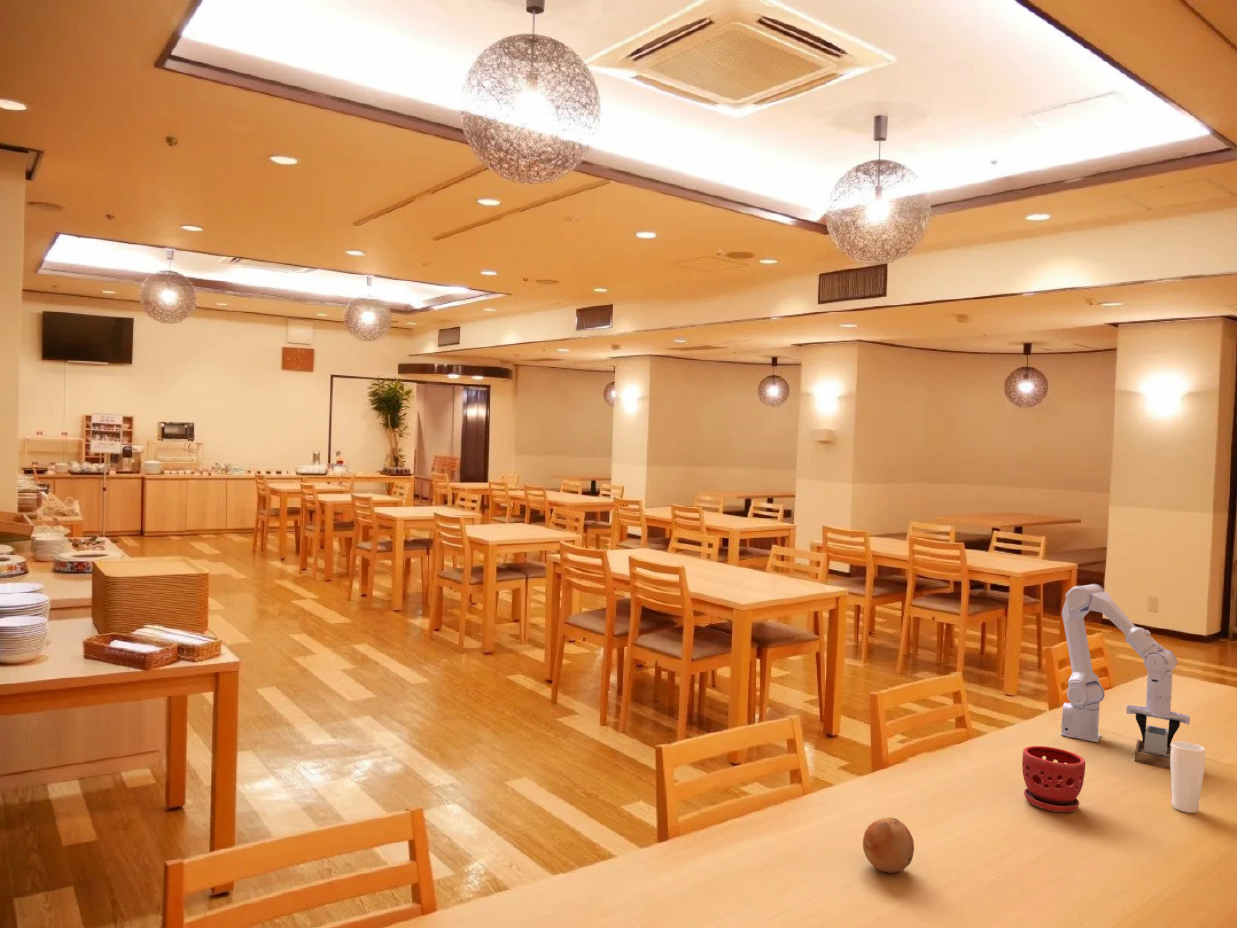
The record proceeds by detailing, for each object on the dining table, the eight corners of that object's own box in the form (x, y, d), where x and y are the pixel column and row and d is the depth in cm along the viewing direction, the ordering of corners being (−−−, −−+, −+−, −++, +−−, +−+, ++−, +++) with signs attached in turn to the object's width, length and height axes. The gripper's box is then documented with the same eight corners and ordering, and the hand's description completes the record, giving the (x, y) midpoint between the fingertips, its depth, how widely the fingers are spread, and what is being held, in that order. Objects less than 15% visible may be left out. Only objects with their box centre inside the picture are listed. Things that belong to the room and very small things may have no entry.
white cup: (1191, 803, 204) (1195, 741, 203) (1208, 816, 197) (1212, 752, 197) (1161, 801, 205) (1165, 739, 204) (1177, 814, 198) (1180, 750, 197)
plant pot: (1091, 819, 194) (1093, 767, 193) (1028, 812, 196) (1031, 760, 196) (1072, 796, 206) (1075, 746, 206) (1014, 789, 209) (1016, 741, 209)
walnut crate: (1134, 761, 231) (1134, 751, 231) (1137, 748, 241) (1137, 739, 241) (1175, 769, 226) (1175, 760, 226) (1176, 755, 236) (1176, 746, 236)
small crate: (1143, 752, 231) (1145, 732, 231) (1146, 744, 238) (1147, 724, 238) (1165, 757, 228) (1167, 736, 228) (1167, 748, 235) (1168, 728, 235)
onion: (872, 851, 175) (874, 803, 175) (921, 868, 169) (923, 818, 168) (852, 869, 167) (854, 819, 167) (902, 887, 161) (905, 835, 161)
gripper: (1126, 693, 233) (1124, 742, 234) (1190, 703, 225) (1188, 754, 226) (1128, 687, 239) (1126, 735, 240) (1191, 697, 231) (1188, 747, 232)
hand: (1156, 744), depth 233 cm, fingers closed on small crate, 5 cm apart
